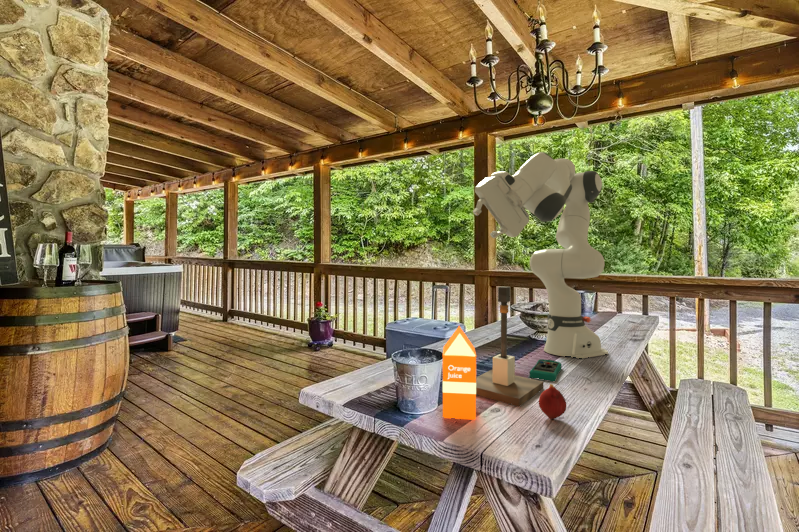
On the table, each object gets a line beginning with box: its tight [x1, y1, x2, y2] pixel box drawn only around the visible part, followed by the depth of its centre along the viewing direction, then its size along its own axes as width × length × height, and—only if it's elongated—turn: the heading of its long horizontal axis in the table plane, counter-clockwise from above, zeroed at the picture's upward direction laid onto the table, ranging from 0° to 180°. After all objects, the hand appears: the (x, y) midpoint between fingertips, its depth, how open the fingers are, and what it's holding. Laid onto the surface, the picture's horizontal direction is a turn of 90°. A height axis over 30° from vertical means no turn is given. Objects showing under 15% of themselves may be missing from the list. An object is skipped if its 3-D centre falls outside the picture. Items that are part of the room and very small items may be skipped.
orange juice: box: [441, 325, 477, 421], centre depth 90 cm, size 8×9×20 cm
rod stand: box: [476, 285, 544, 408], centre depth 104 cm, size 16×16×28 cm
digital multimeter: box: [529, 359, 563, 382], centre depth 118 cm, size 7×15×3 cm, turn 150°
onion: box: [538, 383, 567, 420], centre depth 86 cm, size 6×6×8 cm
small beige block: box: [492, 353, 516, 386], centre depth 104 cm, size 4×4×7 cm
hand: (483, 225), depth 113 cm, fingers open, 8 cm apart
